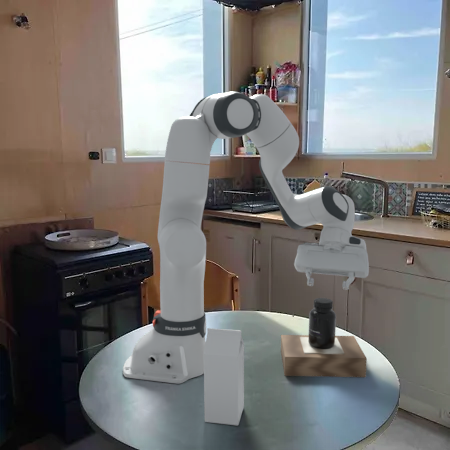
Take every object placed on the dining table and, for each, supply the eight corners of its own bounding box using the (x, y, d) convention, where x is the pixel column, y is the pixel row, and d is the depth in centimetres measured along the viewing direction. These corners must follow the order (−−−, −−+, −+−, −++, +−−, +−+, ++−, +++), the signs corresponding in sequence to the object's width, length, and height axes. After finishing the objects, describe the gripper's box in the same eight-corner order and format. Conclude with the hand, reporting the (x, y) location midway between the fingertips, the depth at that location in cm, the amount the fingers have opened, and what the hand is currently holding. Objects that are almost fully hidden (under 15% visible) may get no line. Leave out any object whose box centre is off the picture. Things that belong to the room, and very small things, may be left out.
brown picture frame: (284, 375, 114) (284, 355, 113) (280, 351, 127) (281, 333, 127) (365, 377, 112) (366, 357, 112) (353, 353, 126) (353, 334, 126)
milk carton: (238, 426, 92) (238, 337, 90) (204, 422, 94) (203, 334, 91) (244, 407, 99) (243, 324, 96) (212, 404, 101) (211, 322, 98)
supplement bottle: (308, 348, 117) (309, 303, 115) (308, 338, 123) (309, 295, 122) (335, 350, 115) (337, 305, 114) (334, 340, 122) (336, 297, 120)
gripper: (297, 236, 132) (287, 277, 124) (370, 240, 124) (365, 284, 116) (300, 248, 137) (291, 288, 129) (371, 253, 129) (366, 296, 121)
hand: (327, 286), depth 123 cm, fingers open, 8 cm apart
